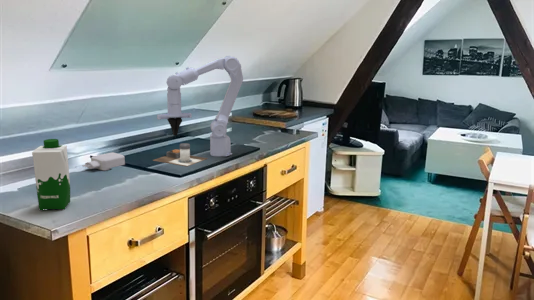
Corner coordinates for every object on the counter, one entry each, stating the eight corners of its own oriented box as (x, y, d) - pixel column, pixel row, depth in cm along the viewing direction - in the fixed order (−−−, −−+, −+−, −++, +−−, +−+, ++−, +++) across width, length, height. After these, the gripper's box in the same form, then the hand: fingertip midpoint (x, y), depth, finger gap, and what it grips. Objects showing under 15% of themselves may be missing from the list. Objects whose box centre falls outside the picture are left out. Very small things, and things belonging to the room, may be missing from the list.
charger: (77, 170, 171) (111, 162, 183) (91, 175, 166) (125, 166, 177) (76, 158, 170) (111, 151, 181) (90, 162, 164) (124, 155, 176)
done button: (175, 153, 194) (175, 148, 193) (181, 154, 192) (181, 149, 192) (171, 154, 191) (171, 150, 190) (177, 155, 189) (176, 151, 189)
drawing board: (175, 154, 197) (175, 148, 196) (208, 160, 189) (208, 153, 188) (152, 162, 184) (151, 155, 183) (186, 168, 176) (186, 161, 175)
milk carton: (74, 200, 139) (68, 138, 134) (66, 210, 130) (60, 145, 125) (44, 201, 137) (37, 138, 132) (34, 212, 129) (27, 145, 124)
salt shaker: (184, 159, 186) (183, 142, 185) (192, 160, 184) (191, 144, 183) (177, 161, 183) (177, 144, 181) (186, 162, 181) (185, 146, 179)
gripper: (187, 101, 194) (188, 132, 197) (154, 103, 187) (155, 134, 190) (193, 103, 188) (193, 135, 191) (159, 105, 181) (160, 137, 184)
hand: (175, 135), depth 190 cm, fingers closed
